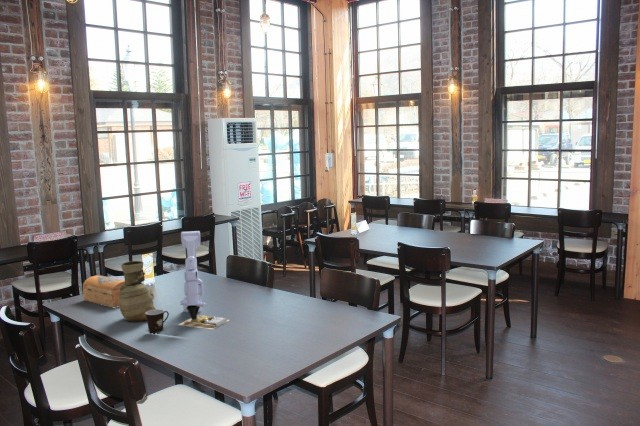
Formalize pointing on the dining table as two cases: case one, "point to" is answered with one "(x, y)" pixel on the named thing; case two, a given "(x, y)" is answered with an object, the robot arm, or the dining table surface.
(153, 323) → the coffee mug
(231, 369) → the dining table surface
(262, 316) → the dining table surface
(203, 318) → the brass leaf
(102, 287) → the wooden box
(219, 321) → the panel
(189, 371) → the dining table surface
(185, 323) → the jig board
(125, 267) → the ceramic vessel
